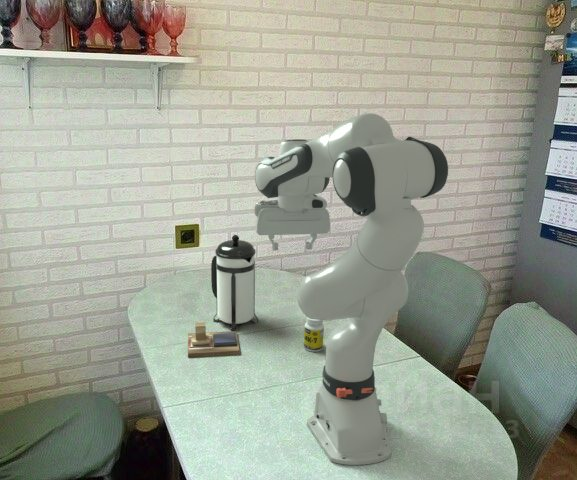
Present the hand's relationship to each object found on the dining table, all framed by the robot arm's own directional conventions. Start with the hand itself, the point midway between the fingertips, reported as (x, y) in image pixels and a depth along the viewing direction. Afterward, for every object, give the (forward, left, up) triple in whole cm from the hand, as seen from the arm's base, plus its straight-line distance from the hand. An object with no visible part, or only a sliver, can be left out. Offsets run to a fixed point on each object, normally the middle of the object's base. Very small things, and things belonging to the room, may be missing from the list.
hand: (292, 249), depth 155 cm
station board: (+11, +22, -34) cm, 41 cm away
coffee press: (+28, +15, -34) cm, 46 cm away
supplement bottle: (+6, -8, -34) cm, 35 cm away
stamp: (+11, +25, -32) cm, 42 cm away
